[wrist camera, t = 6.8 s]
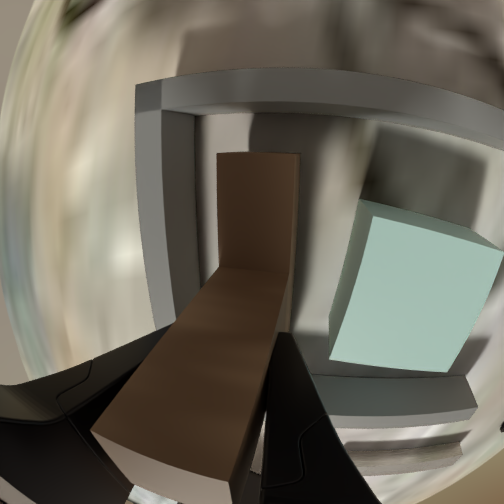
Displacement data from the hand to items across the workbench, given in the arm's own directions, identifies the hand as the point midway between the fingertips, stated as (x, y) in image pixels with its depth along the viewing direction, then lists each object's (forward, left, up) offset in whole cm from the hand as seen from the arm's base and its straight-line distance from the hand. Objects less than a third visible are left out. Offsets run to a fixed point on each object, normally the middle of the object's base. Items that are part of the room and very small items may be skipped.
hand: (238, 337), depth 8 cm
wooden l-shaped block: (0, 0, -5) cm, 5 cm away
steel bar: (-12, +17, -6) cm, 22 cm away
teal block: (-6, 0, -6) cm, 9 cm away
